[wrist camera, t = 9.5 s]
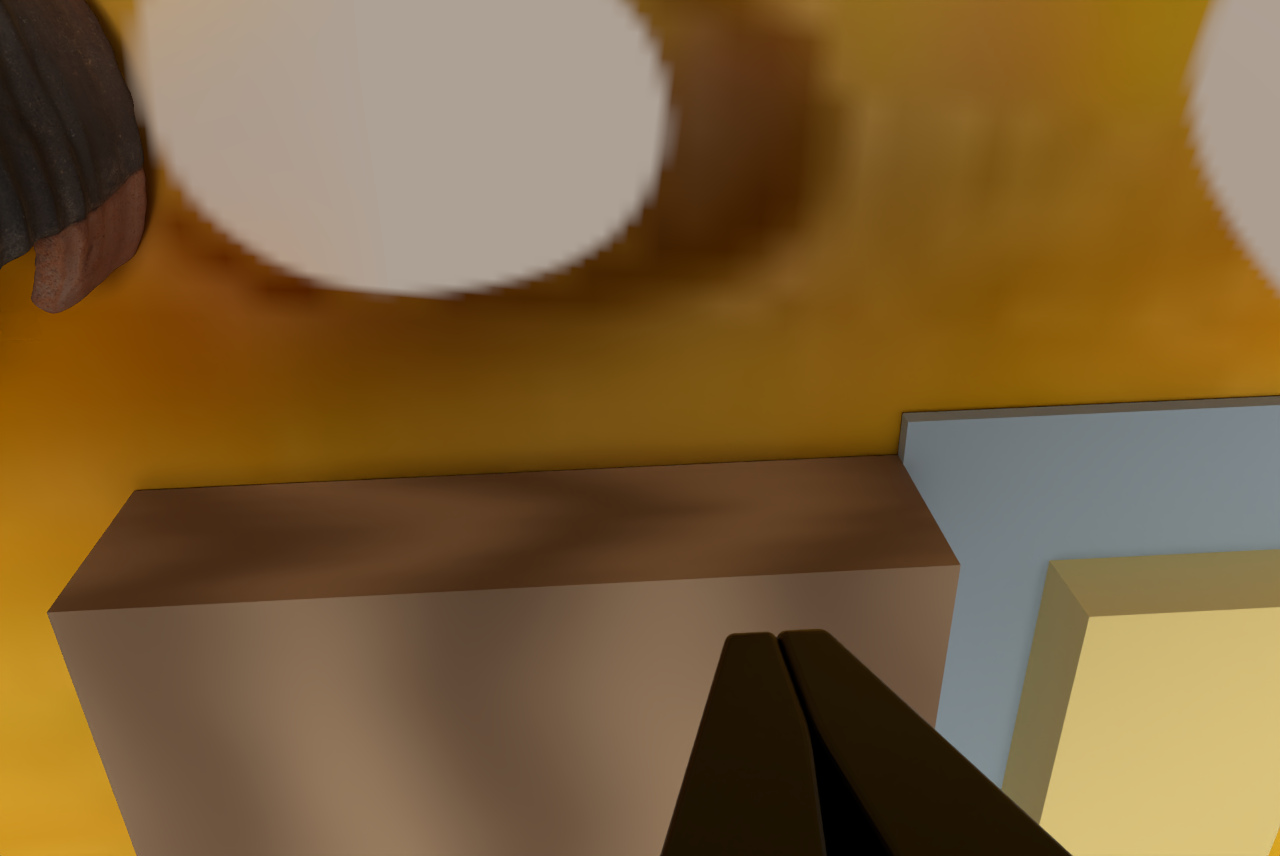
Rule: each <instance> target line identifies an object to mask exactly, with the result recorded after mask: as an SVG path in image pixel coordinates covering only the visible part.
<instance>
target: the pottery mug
mask: <svg viewBox="0 0 1280 856" xmlns="http://www.w3.org/2000/svg"><path fill="white" fill-rule="evenodd" d="M133 108H134V104H133V99H132V96H131V93H130V91H129V89H128V87H127V85H126V83H125V81H124V79H123V77H122V75H121V72H120V70H119V67H118V64H117V62H116V59H115V55H114V52H113V49H112V47H111V44H110V42H109V40H108V39H107V37H106V36H105V34H104V32H103V30H102V27H101V25H100V23H99V21H98V19H97V17H96V16H95V14H94V13H93V12H92V10H91V9H90V7H89V5H88V4H87V3H86V2H85V1H84V0H0V269H1V268H2V266H3V265H5V264H7V263H8V262H10V261H12V260H14V259H16V258H18V257H20V256H22V255H24V254H25V253H27V252H28V251H29V250H30V249H31V247H32V246H34V249H35V251H36V259H35V266H36V271H35V277H34V285H33V292H32V296H31V299H32V302H33V303H34V304H35V305H36V306H37V307H39V308H41V309H42V310H44V311H46V312H49V313H59V312H62V311H64V310H66V309H68V308H70V307H72V306H73V305H75V304H76V303H78V302H80V301H81V300H82V299H83V298H84V297H85V296H87V295H88V294H89V293H90V292H91V291H92V290H93V289H94V288H96V287H97V286H98V285H99V284H100V283H102V282H103V281H104V280H105V279H106V278H107V277H108V276H109V274H110V273H111V272H112V271H114V270H115V269H116V268H118V267H119V266H121V265H123V264H124V263H126V262H127V261H128V260H130V259H131V258H132V257H133V256H134V255H135V253H136V250H137V246H138V244H139V242H140V240H141V237H142V234H143V231H144V222H145V213H146V208H147V197H146V186H145V183H146V178H145V173H144V169H143V161H144V155H143V148H142V144H141V138H140V135H139V130H138V127H137V124H136V120H135V115H134V109H133Z"/></svg>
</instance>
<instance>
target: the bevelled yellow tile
mask: <svg viewBox="0 0 1280 856" xmlns="http://www.w3.org/2000/svg"><path fill="white" fill-rule="evenodd" d="M1001 790H1002V791H1003V792H1004V793H1005V794H1006V795H1007V796H1008V797H1009V798H1010V799H1012V800H1013V801H1014V802H1015V803H1016V804H1017V805H1018V806H1019V807H1020V808H1021V809H1022V810H1024V811H1025V812H1026V813H1027V814H1028V815H1029V816H1030V817H1031V818H1032V819H1033V820H1034V821H1036V822H1037V823H1038V824H1039V825H1040V826H1041V827H1042V828H1043V829H1044V830H1045V831H1046V832H1048V833H1049V834H1050V835H1051V836H1052V837H1053V838H1054V839H1055V840H1056V841H1057V842H1058V843H1060V844H1061V845H1062V846H1063V847H1064V848H1065V849H1066V850H1067V851H1068V852H1069V853H1070V854H1072V855H1073V856H1268V855H1269V852H1270V850H1271V847H1272V845H1273V842H1274V840H1275V837H1276V835H1277V832H1278V830H1279V827H1280V549H1271V550H1251V551H1231V552H1211V553H1190V554H1170V555H1150V556H1130V557H1109V558H1089V559H1069V560H1050V561H1049V566H1048V570H1047V575H1046V580H1045V584H1044V589H1043V594H1042V599H1041V603H1040V608H1039V613H1038V618H1037V622H1036V627H1035V632H1034V637H1033V641H1032V646H1031V651H1030V656H1029V660H1028V665H1027V670H1026V675H1025V679H1024V684H1023V689H1022V694H1021V698H1020V703H1019V708H1018V713H1017V717H1016V722H1015V727H1014V732H1013V736H1012V741H1011V746H1010V751H1009V755H1008V760H1007V765H1006V770H1005V774H1004V779H1003V784H1002V789H1001Z"/></svg>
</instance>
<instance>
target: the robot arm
mask: <svg viewBox="0 0 1280 856" xmlns="http://www.w3.org/2000/svg"><path fill="white" fill-rule="evenodd" d="M660 856H1073V855H1072V854H1070V853H1069V852H1068V851H1067V850H1066V849H1065V848H1064V847H1063V846H1062V845H1061V844H1060V843H1058V842H1057V841H1056V840H1055V839H1054V838H1053V837H1052V836H1051V835H1050V834H1049V833H1048V832H1046V831H1045V830H1044V829H1043V828H1042V827H1041V826H1040V825H1039V824H1038V823H1037V822H1036V821H1034V820H1033V819H1032V818H1031V817H1030V816H1029V815H1028V814H1027V813H1026V812H1025V811H1024V810H1022V809H1021V808H1020V807H1019V806H1018V805H1017V804H1016V803H1015V802H1014V801H1013V800H1012V799H1010V798H1009V797H1008V796H1007V795H1006V794H1005V793H1004V792H1003V791H1002V790H1001V789H1000V788H998V787H997V786H996V785H995V784H994V783H993V782H992V781H991V780H990V779H989V778H988V777H986V776H985V775H984V774H983V773H982V772H981V771H980V770H979V769H978V768H977V767H976V766H974V765H973V764H972V763H971V762H970V761H969V760H968V759H967V758H966V757H965V756H964V755H962V754H961V753H960V752H959V751H958V750H957V749H956V748H955V747H954V746H953V745H952V744H950V743H949V742H948V741H947V740H946V739H945V738H944V737H943V736H942V735H941V734H940V733H938V732H937V731H936V730H935V729H934V728H933V727H932V726H931V725H930V724H929V723H928V722H926V721H925V720H924V719H923V718H922V717H921V716H920V715H919V714H918V713H917V712H916V711H914V710H913V709H912V708H911V707H910V706H909V705H908V704H907V703H906V702H905V701H904V700H902V699H901V698H900V697H899V696H898V695H897V694H896V693H895V692H894V691H893V690H892V689H891V688H889V687H888V686H887V685H886V684H885V683H884V682H883V681H882V680H881V679H880V678H879V677H877V676H876V675H875V674H874V673H873V672H872V671H871V670H870V669H869V668H868V667H867V666H865V665H864V664H863V663H862V662H861V661H860V660H859V659H858V658H857V657H856V656H855V655H853V654H852V653H851V652H850V651H849V650H848V649H847V648H846V647H845V646H844V645H843V644H841V643H840V642H839V641H838V640H837V639H836V638H835V637H834V636H833V635H832V634H830V633H829V632H827V631H825V630H823V629H802V630H785V631H782V632H780V633H779V634H778V635H777V637H776V636H775V635H774V634H772V633H771V632H767V631H765V632H747V633H733V634H730V635H728V636H727V638H726V639H725V642H724V645H723V648H722V651H721V655H720V658H719V661H718V665H717V668H716V671H715V675H714V678H713V681H712V685H711V688H710V691H709V695H708V698H707V701H706V705H705V708H704V711H703V715H702V718H701V721H700V725H699V728H698V731H697V735H696V738H695V741H694V745H693V748H692V751H691V755H690V758H689V761H688V765H687V768H686V771H685V775H684V778H683V781H682V785H681V788H680V791H679V795H678V798H677V801H676V805H675V808H674V811H673V815H672V818H671V821H670V825H669V828H668V831H667V835H666V838H665V841H664V845H663V848H662V851H661V854H660Z"/></svg>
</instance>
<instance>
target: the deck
mask: <svg viewBox="0 0 1280 856" xmlns="http://www.w3.org/2000/svg"><path fill="white" fill-rule="evenodd" d="M960 567H961V565H960V563H959V561H958V559H957V558H956V556H955V554H954V552H953V551H952V549H951V547H950V545H949V544H948V542H947V540H946V538H945V537H944V535H943V533H942V531H941V529H940V528H939V526H938V524H937V522H936V521H935V519H934V517H933V515H932V514H931V512H930V510H929V508H928V507H927V505H926V503H925V501H924V500H923V498H922V496H921V494H920V493H919V491H918V489H917V487H916V486H915V484H914V482H913V480H912V479H911V477H910V475H909V473H908V472H907V470H906V468H905V466H904V465H903V463H902V461H901V459H900V458H899V456H898V455H882V456H860V457H839V458H818V459H797V460H776V461H754V462H733V463H712V464H691V465H670V466H648V467H627V468H606V469H585V470H564V471H542V472H521V473H500V474H479V475H458V476H436V477H415V478H394V479H373V480H352V481H330V482H309V483H288V484H267V485H246V486H225V487H203V488H182V489H161V490H140V491H134V492H133V493H132V495H131V496H130V497H129V499H128V500H127V502H126V503H125V504H124V506H123V507H122V509H121V510H120V511H119V513H118V514H117V516H116V517H115V518H114V520H113V521H112V523H111V524H110V525H109V527H108V528H107V530H106V531H105V532H104V534H103V535H102V537H101V538H100V539H99V541H98V542H97V543H96V545H95V546H94V548H93V549H92V550H91V552H90V553H89V555H88V556H87V557H86V559H85V560H84V562H83V563H82V564H81V566H80V567H79V569H78V570H77V571H76V573H75V574H74V576H73V577H72V578H71V580H70V581H69V583H68V584H67V585H66V587H65V588H64V590H63V591H62V592H61V594H60V595H59V596H58V598H57V599H56V601H55V602H54V603H53V605H52V606H51V608H50V609H49V610H48V612H47V614H48V617H49V619H50V622H51V625H52V627H53V630H54V633H55V636H56V638H57V641H58V644H59V646H60V649H61V652H62V655H63V657H64V660H65V663H66V665H67V668H68V671H69V673H70V676H71V679H72V682H73V684H74V687H75V690H76V692H77V695H78V698H79V701H80V703H81V706H82V709H83V711H84V714H85V717H86V719H87V722H88V725H89V728H90V730H91V733H92V736H93V738H94V741H95V744H96V747H97V749H98V752H99V755H100V757H101V760H102V763H103V765H104V768H105V771H106V774H107V776H108V779H109V782H110V784H111V787H112V790H113V792H114V795H115V798H116V801H117V803H118V806H119V809H120V811H121V814H122V817H123V820H124V822H125V825H126V828H127V830H128V833H129V836H130V838H131V841H132V844H133V847H134V849H135V852H136V855H137V856H660V854H661V851H662V848H663V845H664V841H665V838H666V835H667V831H668V828H669V825H670V821H671V818H672V815H673V811H674V808H675V805H676V801H677V798H678V795H679V791H680V788H681V785H682V781H683V778H684V775H685V771H686V768H687V765H688V761H689V758H690V755H691V751H692V748H693V745H694V741H695V738H696V735H697V731H698V728H699V725H700V721H701V718H702V715H703V711H704V708H705V705H706V701H707V698H708V695H709V691H710V688H711V685H712V681H713V678H714V675H715V671H716V668H717V665H718V661H719V658H720V655H721V651H722V648H723V645H724V642H725V639H726V638H727V636H728V635H730V634H733V633H747V632H765V631H767V632H771V633H772V634H774V635H775V636H776V637H777V635H778V634H779V633H780V632H782V631H785V630H802V629H823V630H825V631H827V632H829V633H830V634H832V635H833V636H834V637H835V638H836V639H837V640H838V641H839V642H840V643H841V644H843V645H844V646H845V647H846V648H847V649H848V650H849V651H850V652H851V653H852V654H853V655H855V656H856V657H857V658H858V659H859V660H860V661H861V662H862V663H863V664H864V665H865V666H867V667H868V668H869V669H870V670H871V671H872V672H873V673H874V674H875V675H876V676H877V677H879V678H880V679H881V680H882V681H883V682H884V683H885V684H886V685H887V686H888V687H889V688H891V689H892V690H893V691H894V692H895V693H896V694H897V695H898V696H899V697H900V698H901V699H902V700H904V701H905V702H906V703H907V704H908V705H909V706H910V707H911V708H912V709H913V710H914V711H916V712H917V713H918V714H919V715H920V716H921V717H922V718H923V719H924V720H925V721H926V722H928V723H929V724H930V725H931V726H932V727H933V728H934V729H935V726H936V719H937V713H938V707H939V700H940V694H941V687H942V681H943V675H944V668H945V662H946V656H947V649H948V643H949V637H950V630H951V624H952V617H953V611H954V605H955V598H956V592H957V586H958V579H959V573H960Z"/></svg>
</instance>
